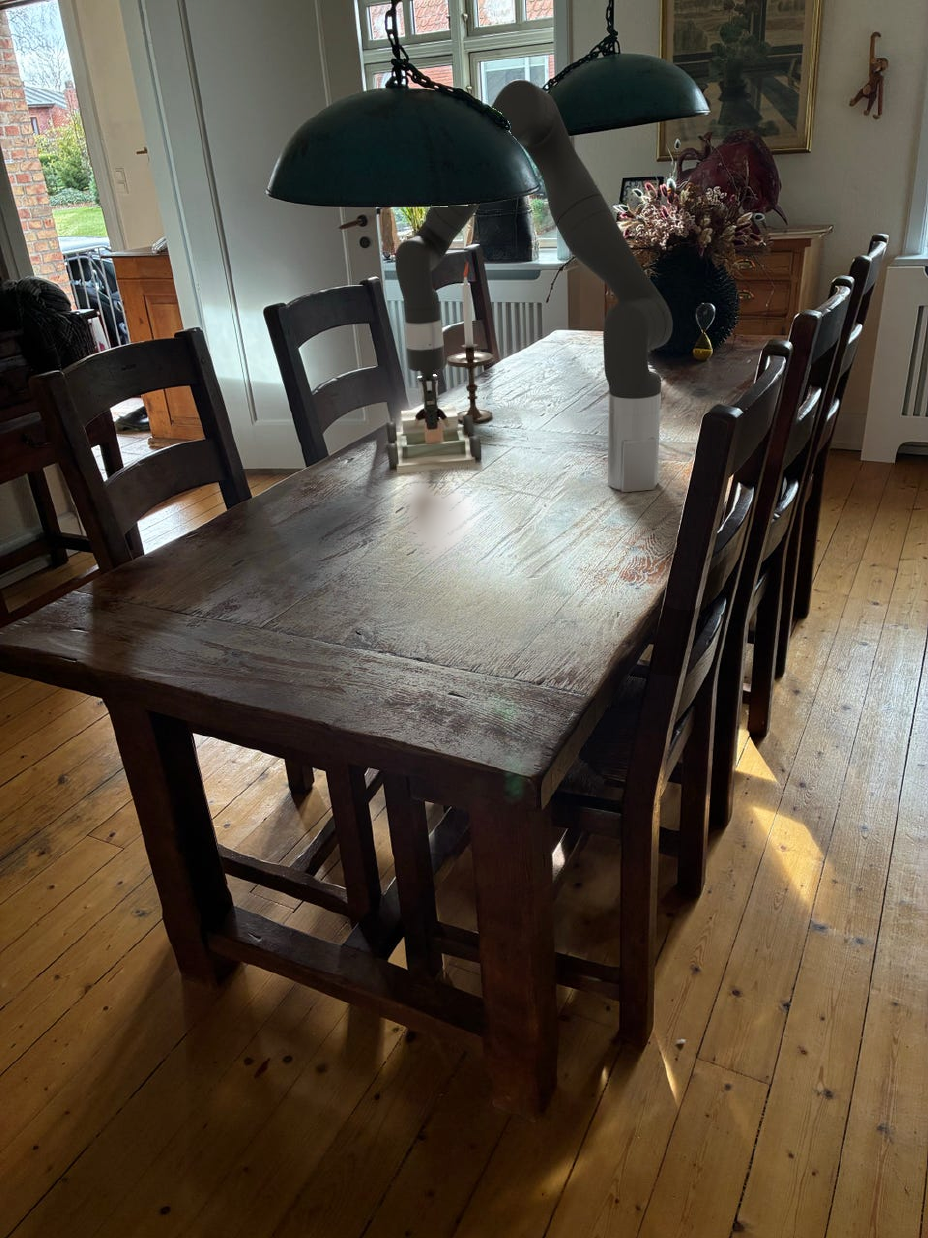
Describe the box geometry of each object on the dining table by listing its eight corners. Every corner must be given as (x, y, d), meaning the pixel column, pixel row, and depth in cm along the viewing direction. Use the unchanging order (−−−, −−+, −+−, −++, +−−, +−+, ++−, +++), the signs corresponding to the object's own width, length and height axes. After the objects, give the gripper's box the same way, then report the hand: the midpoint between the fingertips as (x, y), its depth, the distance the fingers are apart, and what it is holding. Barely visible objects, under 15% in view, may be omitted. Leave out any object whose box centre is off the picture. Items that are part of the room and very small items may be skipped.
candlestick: (497, 411, 222) (490, 257, 206) (494, 424, 213) (487, 264, 196) (453, 413, 224) (442, 260, 207) (448, 425, 214) (437, 266, 198)
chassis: (482, 465, 187) (481, 434, 184) (389, 473, 186) (386, 442, 183) (471, 432, 208) (470, 403, 205) (388, 439, 207) (385, 411, 204)
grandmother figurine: (452, 446, 195) (448, 386, 189) (451, 451, 192) (447, 391, 186) (416, 448, 196) (411, 388, 190) (415, 453, 192) (409, 393, 186)
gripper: (445, 349, 178) (451, 431, 185) (441, 335, 190) (446, 412, 198) (407, 352, 177) (414, 434, 185) (405, 338, 190) (412, 415, 197)
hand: (431, 423), depth 191 cm, fingers open, 8 cm apart
